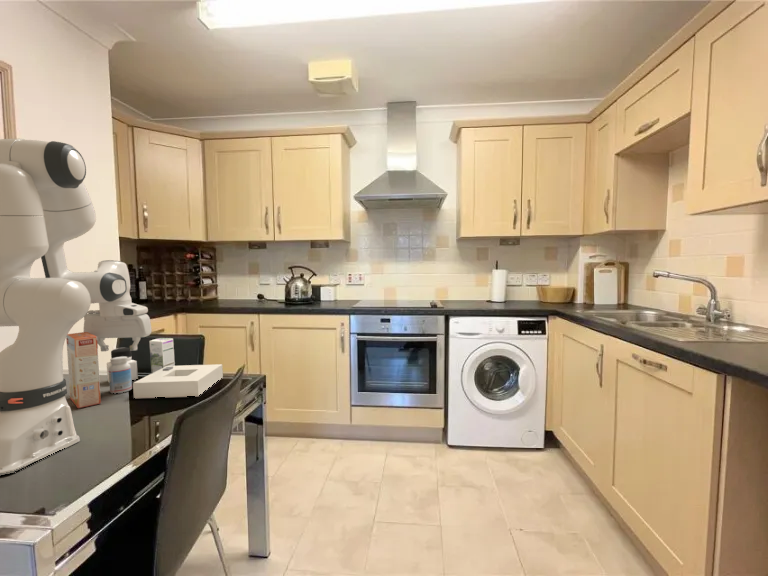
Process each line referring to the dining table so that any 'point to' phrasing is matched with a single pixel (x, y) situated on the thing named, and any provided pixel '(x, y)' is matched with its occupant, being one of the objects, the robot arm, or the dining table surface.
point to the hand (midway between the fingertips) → (119, 350)
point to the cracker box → (83, 369)
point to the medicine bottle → (133, 364)
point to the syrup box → (161, 353)
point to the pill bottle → (120, 375)
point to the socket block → (178, 381)
